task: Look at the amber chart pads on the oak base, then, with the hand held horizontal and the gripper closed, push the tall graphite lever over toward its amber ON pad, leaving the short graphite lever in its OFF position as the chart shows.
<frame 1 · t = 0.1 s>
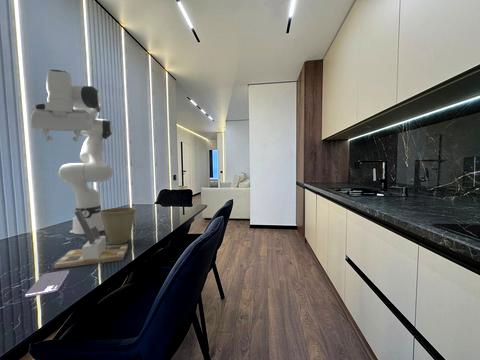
hand: (62, 141, 99), 48 cm above the table, tool pointing down, fingers open, 8 cm apart
main switch: (85, 226, 88), point 13 cm above the table, hinge at -20.0°
plant pot: (119, 242, 110), on the table
switch housing: (95, 253, 92), resting on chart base
mobile phone: (49, 284, 72), on the table
aux switch: (95, 232, 95), point 9 cm above the table, hinge at -20.0°
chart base: (95, 256, 92), on the table
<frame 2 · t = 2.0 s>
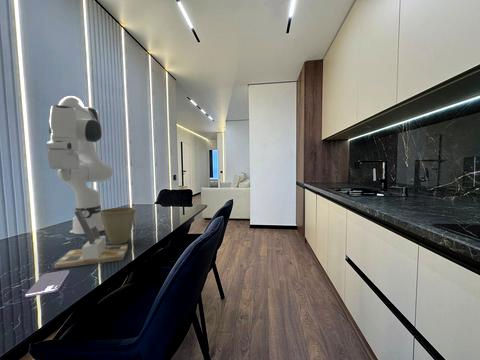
hand: (67, 180, 92), 31 cm above the table, tool pointing down, fingers closed
nothing on the table moved.
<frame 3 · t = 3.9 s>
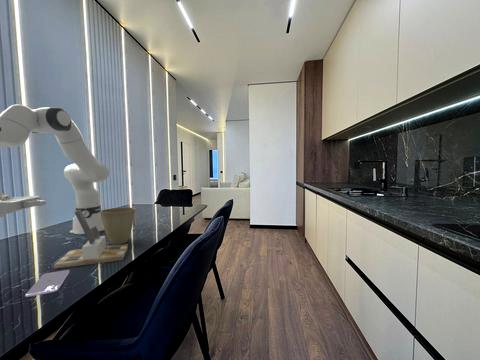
hand: (43, 202, 83), 23 cm above the table, tool horizontal, fingers closed
nothing on the table moved.
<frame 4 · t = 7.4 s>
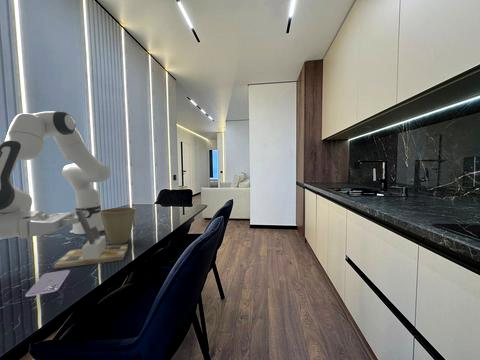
hand: (79, 220, 87), 16 cm above the table, tool horizontal, fingers closed, pressing on main switch
main switch: (86, 226, 88), point 13 cm above the table, hinge at -18.0°, touching gripper
everything else where it was.
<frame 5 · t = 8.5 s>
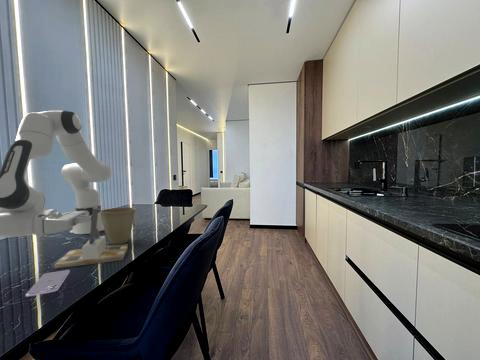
hand: (92, 218, 88), 17 cm above the table, tool horizontal, fingers closed, pressing on main switch
main switch: (93, 225, 89), point 14 cm above the table, hinge at 7.1°, touching gripper
everything else where it was.
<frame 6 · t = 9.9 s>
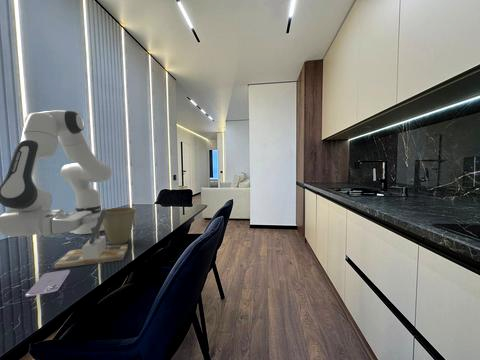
hand: (98, 218, 89), 16 cm above the table, tool horizontal, fingers closed, pressing on main switch
main switch: (98, 225, 89), point 13 cm above the table, hinge at 21.5°, touching gripper
everything else where it was.
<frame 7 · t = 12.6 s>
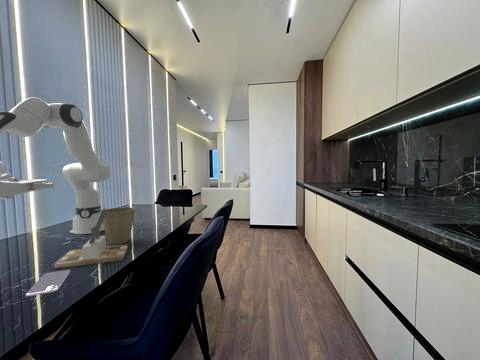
hand: (51, 185, 84), 30 cm above the table, tool horizontal, fingers closed
main switch: (98, 225, 89), point 13 cm above the table, hinge at 21.7°
everything else where it was.
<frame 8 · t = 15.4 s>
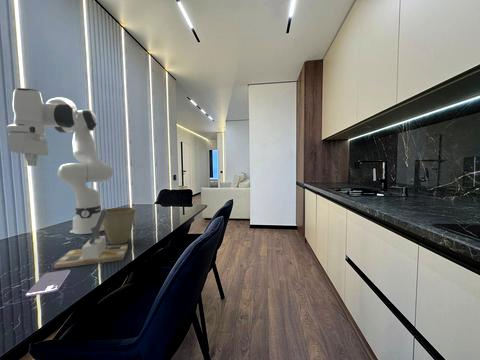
hand: (32, 165, 90), 37 cm above the table, tool pointing down, fingers closed
nothing on the table moved.
at the end: main switch at +22° (first picture: -20°); aux switch at -20° (first picture: -20°) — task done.
